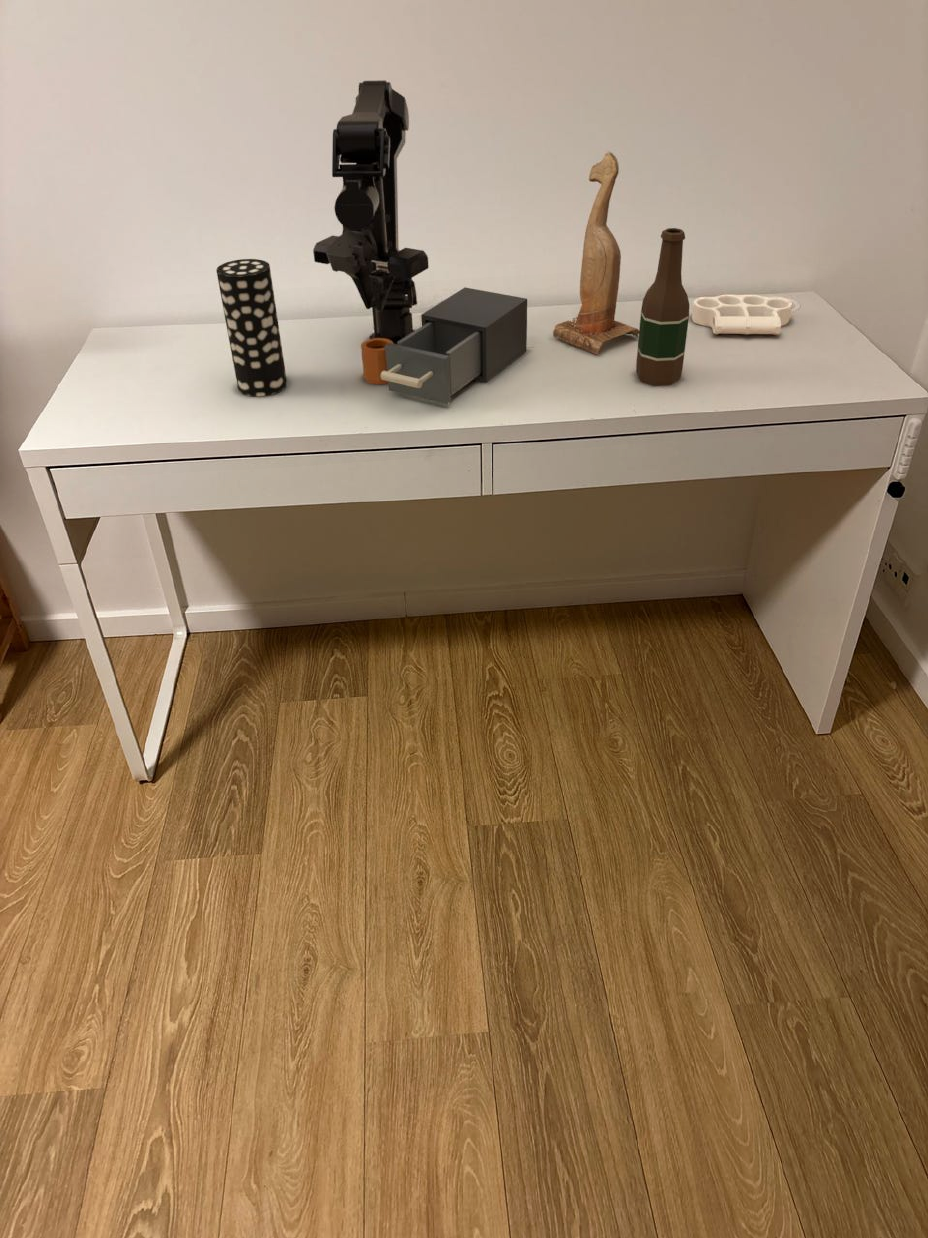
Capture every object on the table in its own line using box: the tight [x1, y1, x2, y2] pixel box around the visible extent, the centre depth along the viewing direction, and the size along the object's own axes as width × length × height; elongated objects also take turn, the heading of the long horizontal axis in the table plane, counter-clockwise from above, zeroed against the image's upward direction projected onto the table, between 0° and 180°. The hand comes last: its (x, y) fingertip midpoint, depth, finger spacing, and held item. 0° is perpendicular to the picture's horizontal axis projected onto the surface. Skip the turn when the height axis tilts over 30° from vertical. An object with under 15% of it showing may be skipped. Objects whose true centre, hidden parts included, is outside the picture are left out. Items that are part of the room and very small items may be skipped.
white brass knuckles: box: [691, 293, 793, 336], centre depth 180 cm, size 3×18×15 cm
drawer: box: [381, 321, 483, 405], centre depth 158 cm, size 18×11×8 cm, turn 150°
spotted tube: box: [215, 258, 288, 397], centre depth 159 cm, size 8×8×20 cm
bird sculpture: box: [552, 150, 639, 355], centre depth 167 cm, size 11×12×32 cm
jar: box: [360, 338, 393, 385], centre depth 165 cm, size 5×5×6 cm
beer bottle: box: [635, 227, 691, 387], centre depth 156 cm, size 8×8×24 cm
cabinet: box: [420, 286, 528, 383], centre depth 168 cm, size 15×13×10 cm
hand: (374, 309), depth 159 cm, fingers closed
